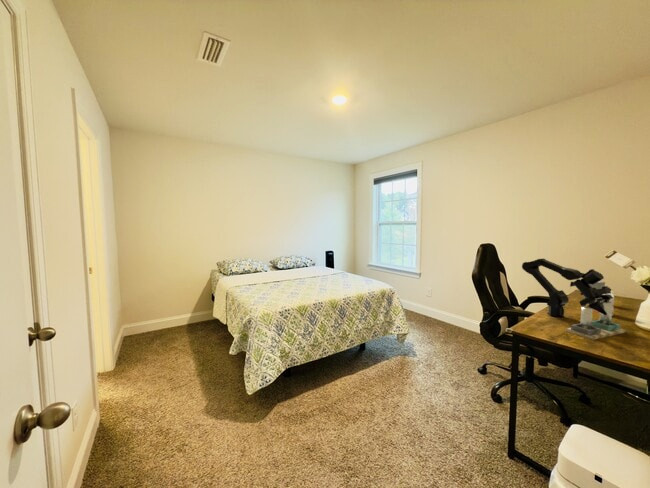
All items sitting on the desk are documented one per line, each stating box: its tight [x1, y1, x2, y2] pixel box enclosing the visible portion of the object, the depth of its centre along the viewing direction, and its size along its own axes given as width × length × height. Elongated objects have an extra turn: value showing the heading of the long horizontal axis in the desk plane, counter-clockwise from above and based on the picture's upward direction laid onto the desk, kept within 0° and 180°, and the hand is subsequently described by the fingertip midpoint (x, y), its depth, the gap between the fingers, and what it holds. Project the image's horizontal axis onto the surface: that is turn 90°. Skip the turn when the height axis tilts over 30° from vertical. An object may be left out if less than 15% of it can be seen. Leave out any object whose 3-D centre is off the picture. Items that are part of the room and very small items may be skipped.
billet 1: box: [579, 306, 594, 330], centre depth 146 cm, size 4×4×12 cm
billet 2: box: [599, 302, 613, 326], centre depth 151 cm, size 4×4×12 cm
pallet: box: [564, 319, 626, 341], centre depth 149 cm, size 27×12×4 cm, turn 108°
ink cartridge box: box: [594, 291, 615, 316], centre depth 177 cm, size 9×5×15 cm, turn 168°
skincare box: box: [583, 280, 606, 299], centre depth 200 cm, size 8×7×16 cm
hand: (609, 314), depth 149 cm, fingers closed on billet 2, 4 cm apart
